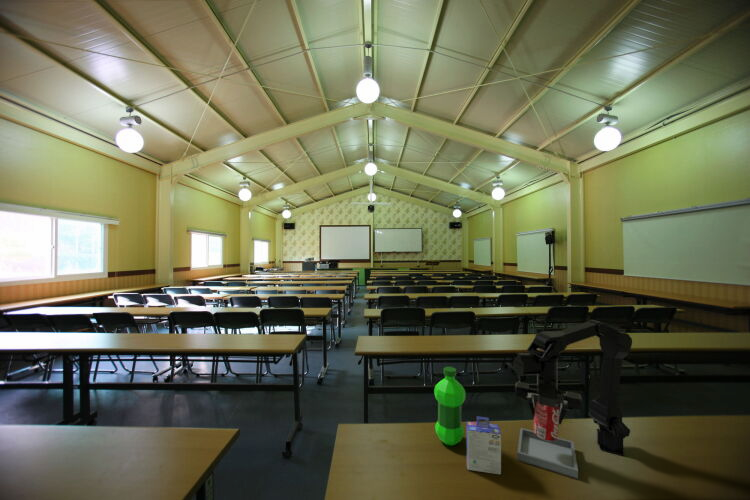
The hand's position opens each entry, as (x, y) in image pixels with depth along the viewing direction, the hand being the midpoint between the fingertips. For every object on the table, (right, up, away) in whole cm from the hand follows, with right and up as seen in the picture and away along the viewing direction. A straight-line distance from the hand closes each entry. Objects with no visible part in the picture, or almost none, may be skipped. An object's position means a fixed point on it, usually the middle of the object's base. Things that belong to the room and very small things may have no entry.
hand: (546, 420), depth 98 cm
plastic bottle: (-30, -11, +7) cm, 33 cm away
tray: (0, -11, 0) cm, 11 cm away
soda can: (-1, -5, 0) cm, 5 cm away
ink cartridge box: (-23, -11, -5) cm, 26 cm away
